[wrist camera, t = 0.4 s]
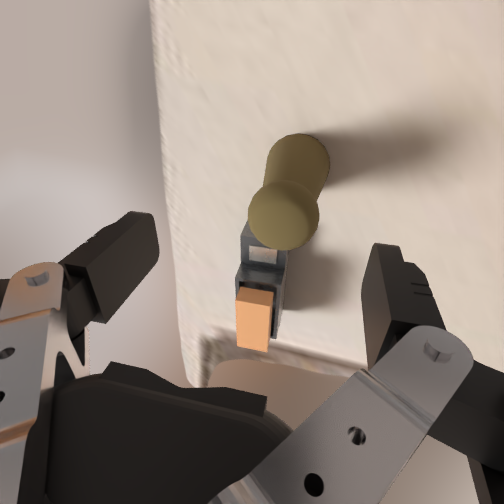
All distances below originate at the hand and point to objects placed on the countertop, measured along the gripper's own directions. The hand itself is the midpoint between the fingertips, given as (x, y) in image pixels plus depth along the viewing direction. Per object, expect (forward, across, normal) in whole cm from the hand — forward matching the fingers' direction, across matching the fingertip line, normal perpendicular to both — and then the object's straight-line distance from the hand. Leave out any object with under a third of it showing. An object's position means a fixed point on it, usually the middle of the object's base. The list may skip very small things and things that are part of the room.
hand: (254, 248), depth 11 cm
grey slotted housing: (+21, +3, +17) cm, 28 cm away
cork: (+20, 0, +3) cm, 21 cm away
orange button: (+16, +3, +19) cm, 25 cm away
